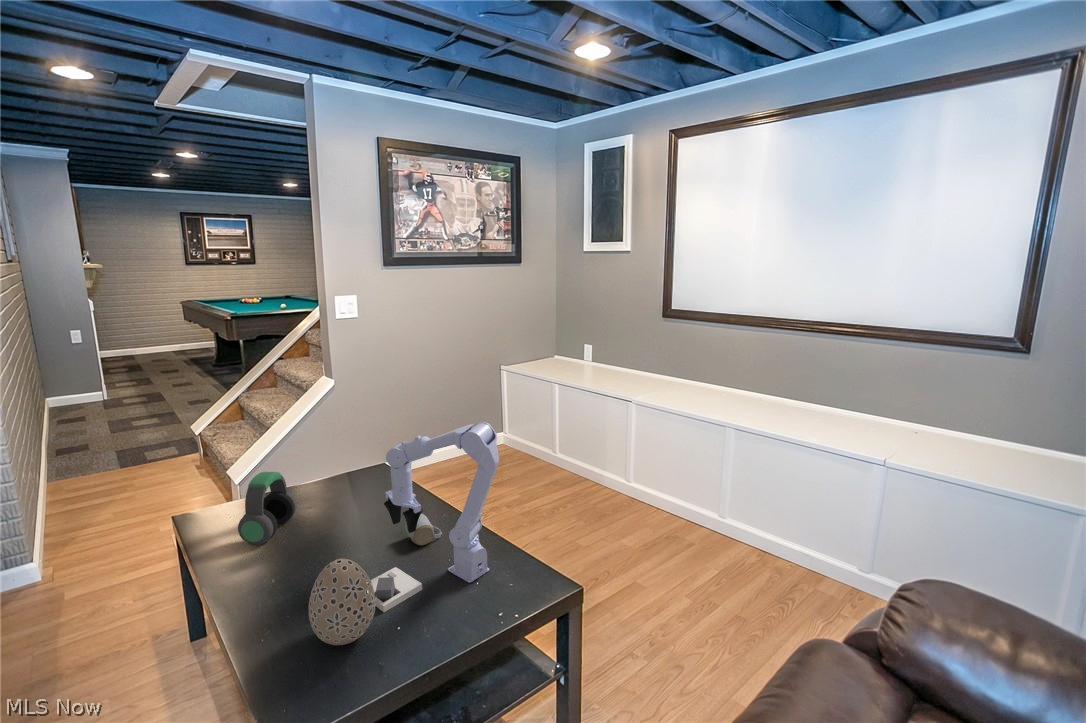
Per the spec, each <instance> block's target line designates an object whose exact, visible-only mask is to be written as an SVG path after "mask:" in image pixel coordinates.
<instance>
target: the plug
mask: <svg viewBox="0 0 1086 723" xmlns="http://www.w3.org/2000/svg"><path fill="white" fill-rule="evenodd" d="M394 591H395V584H394V577H386V578H379V579H378V583H377V587H376V594H377V598H378V599H379V600H381V601H382V602H385V601H387V600H389V599H390V598H392V597H394V596H395V593H394Z"/></svg>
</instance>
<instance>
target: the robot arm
mask: <svg viewBox="0 0 1086 723" xmlns="http://www.w3.org/2000/svg"><path fill="white" fill-rule="evenodd" d="M497 438H498V435H497V432H496V431H495V429H494V428H493V427H492V425H491V424H490V423H488V422H486V421H480V422H477V423H476V424H475V423H471V424H467V425H464V426H462V427H458V428H455V429H453V430H450V431H448V432H445V433H443V434H442V433H441V434H440V435H437V436H435V437H432V438H430V437H429V436H426V435H425V436H421V435H417V436H416V437H414V439H412V440H409V441H407V440H403V441H401V442H400V443H397V445H395V446H393V447H392V448H390V449H389V450H388V451H387V452H386V455H385V460H386V462H387V465H388V466H390V480H391V489H390V490H388V491H385V499H387V500H386V501H384V502H383V505H384V507H385V508H386V509H387V512H388V513H389V516H390V518H391V519H390V520H391V522H392V525H397V524H399V523H400V522H401V517H402V515H403V517H404V518H405V523H406V522H407V528H408V532H409V533H412V532H414V531H416V527H417V522H418V519H419V517H420V515H421V514H423V513H422V512H423V511H424V508H423V507H422V504H420V503H419V502H418V501H417V499H416V494H415V493H413V476H412V462H414V461H419V460H421V459H424V458H427V457H430V456H432V454H433V452H434V451H436V450H439V449H442V448H446V447H451V446H456V448H458V449H459V450H463V451H464V453H466V454H467V455H468V456H469V457H470V458H471V459H472V460H473V461H474V462H475V463H476V464H477V465H478V466H477V469H476V471H475V473H474V477H473V480H472V483H471V486H470V488H469V492H468V496H467V498H466V501H465V504H464V507H463V509H462V512H461V514H460V516H459V518H458V519H457V521H456V523H455V525H454V527H453V528H452V529H451V530H450V531H449V533H448V540H449V542H450V543H451V545H453V565H452V566H450V567H447V571H448V572H450V573H452V574H453V575H455V576H457V577H458V578H460V579H462V580H463V581H465V582H467V583H469V584H470V583H472V582H474V581H475V580H476V579H477V580H478V578H480V577H481V576H483V575H485V574H486V573H488V572H489V571H490V568H489V567H488V551H487V550H486V548H484V547H483V545H481V543H480V539H479V538H480V537H479V532H480V530H482V527H483V526H482V525H483V521H482V518H483V513H482V511H483V509H484V505H485V503H486V500H487V497H488V494H489V493H490V492H489V491H490V488H491V485H492V483H493V481H494V477H495V475H496V471H497V468H498V466H499V463H500V455H499V450H498V444H497V443H498V442H497ZM402 507H403V508H404V507H405V508H408V509H407V510H405V511H403V512H402ZM401 514H402V515H401Z"/></svg>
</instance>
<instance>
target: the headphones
mask: <svg viewBox="0 0 1086 723" xmlns="http://www.w3.org/2000/svg"><path fill="white" fill-rule="evenodd" d="M268 488H269V489H270V490H269V491H270V493H269V494H267V495H266V492H267V490H268ZM244 499H245V501H244V505H245V506H244V509H245V510H244V512H245V513H244V515H243V516H242V517H241V519H240V520H239V522H238V524H237V531H238V534H239V537H240V538H241V539H242V540H243V542H245V543H248V544H250V545H256V546H257V545H261V544H264V543H265V542H267V541H269V540H271V538H273V537H274V536H275V534H276V532H277V531H278V525H279V524H284V523H286V522H288V521H290V520H291V519H292V517H293V516H294V514H295V513H296V510H297V508H298V506H297V505H298V504H297V503H298V502H297V500H296V499H295V497H294V495H292V494H291V493H290V492H289V491H288V487H287V483H286V480H285V477H284V476H283V475H282V473H281V472H280V471H261V472H259V473H257V474H256V475H255V476H254V477H253V478H252V479H251V480H250V482H249V483H248V485H247V490H246V494H245V498H244Z"/></svg>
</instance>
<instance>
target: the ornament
mask: <svg viewBox="0 0 1086 723" xmlns="http://www.w3.org/2000/svg"><path fill="white" fill-rule="evenodd" d="M370 580H371V579H370V577H369V575H368V574H367V572H366V571H365V569H364V568H363V567H362V566H360V564H359V563H357V562H355V560H354V561H353V560H351V559H348V558H337V559H334V560H332V561H331V562H329V563H328V564H327V565H325V567H324V568H323V569H322V570H321V571H320V572H319V574H318V575H317V577H316V579H315V580H314V584H313V586H312V589H311V591H310V594H309V595H310V596H309V601H308V620H309V623H310V626H311V628H312V629H311V630H312V631H313V632H314V634H315V635H316V636H317V638H318V639H319V640H320V641H322V642H324V643H326V644H328V645H331V646H344V645H348V644H351V643H353V642H355V641H356V640H358V639H360V637H361V636H363V635H364V634H365V633H366V632H367V630H369V627H370V626H371V623H372V622H373V618H374V616H375V612H376V606H375V592H374V589H373V586H372V583H371V581H370ZM367 582H368V583H369V584H367ZM347 588H348V589H347ZM367 590H368V592H369V593H367ZM371 594H372V596H371ZM373 601H374V604H373Z"/></svg>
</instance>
